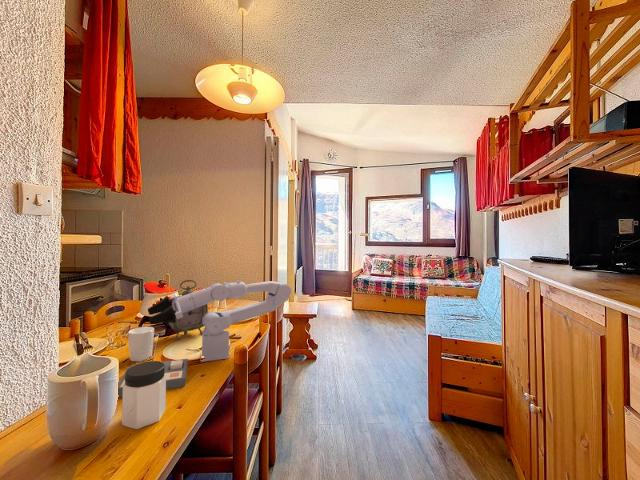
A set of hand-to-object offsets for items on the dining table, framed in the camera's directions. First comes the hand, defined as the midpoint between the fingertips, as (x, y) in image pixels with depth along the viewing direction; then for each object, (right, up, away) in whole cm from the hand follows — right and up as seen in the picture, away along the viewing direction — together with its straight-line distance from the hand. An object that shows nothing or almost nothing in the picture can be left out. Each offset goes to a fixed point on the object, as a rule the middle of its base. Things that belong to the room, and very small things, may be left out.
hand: (149, 316), depth 90 cm
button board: (+6, -18, -7) cm, 20 cm away
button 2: (+11, -16, -3) cm, 20 cm away
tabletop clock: (-3, -18, +32) cm, 37 cm away
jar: (+14, -18, -24) cm, 33 cm away
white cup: (-8, -18, +9) cm, 21 cm away
